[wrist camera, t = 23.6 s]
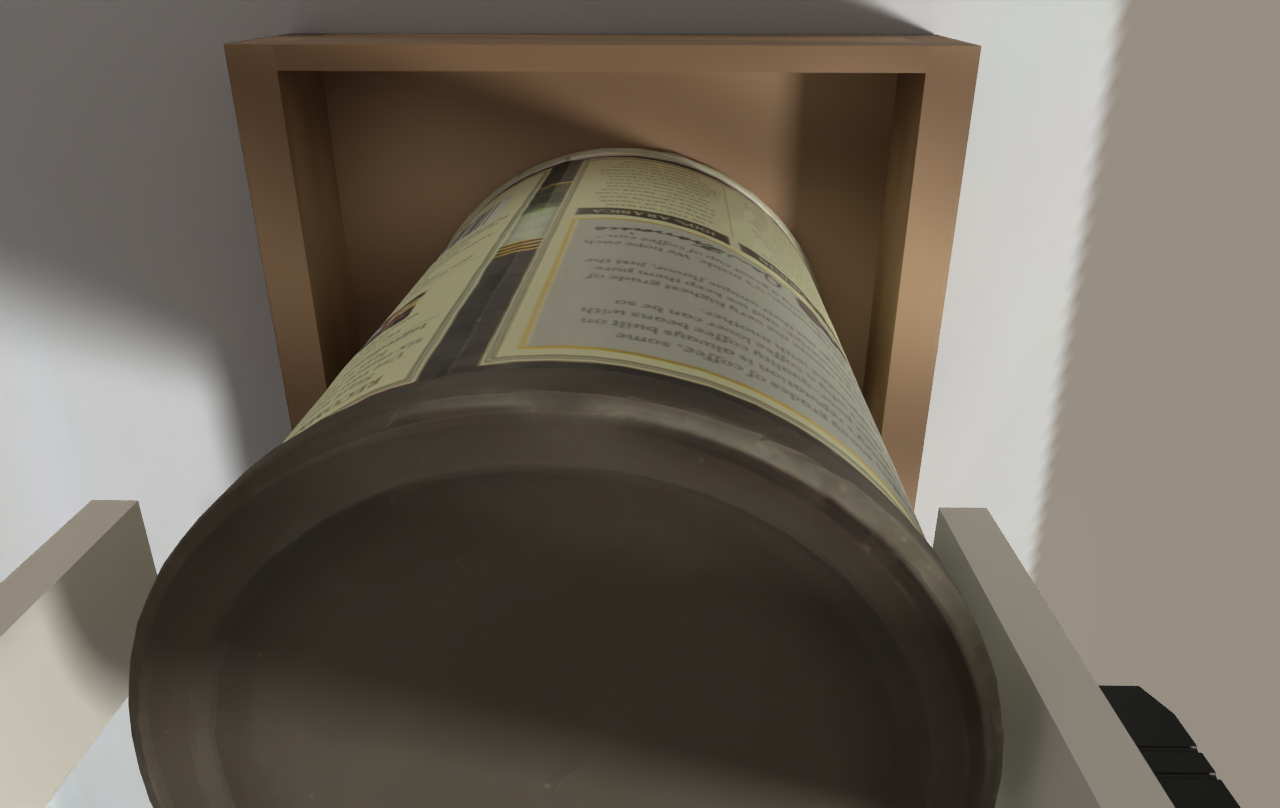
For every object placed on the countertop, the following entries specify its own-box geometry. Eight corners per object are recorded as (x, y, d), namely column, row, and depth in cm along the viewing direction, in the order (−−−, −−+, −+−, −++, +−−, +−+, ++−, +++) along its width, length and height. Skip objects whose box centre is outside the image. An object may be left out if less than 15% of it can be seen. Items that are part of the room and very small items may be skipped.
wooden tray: (824, 931, 34) (838, 1029, 31) (421, 915, 35) (395, 1010, 32) (936, 35, 21) (981, 46, 18) (290, 33, 22) (223, 44, 19)
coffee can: (747, 562, 26) (805, 1123, 14) (392, 459, 25) (96, 955, 13) (899, 221, 22) (1192, 569, 9) (477, 81, 21) (160, 254, 8)
